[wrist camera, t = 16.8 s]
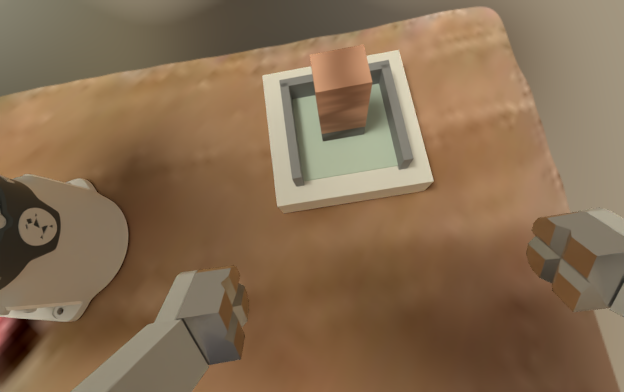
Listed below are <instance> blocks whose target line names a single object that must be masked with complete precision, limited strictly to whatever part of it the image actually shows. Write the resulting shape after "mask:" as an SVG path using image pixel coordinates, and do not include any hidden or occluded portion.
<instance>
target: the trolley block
mask: <svg viewBox="0 0 624 392" xmlns="http://www.w3.org/2000/svg"><path fill="white" fill-rule="evenodd" d="M310 62H311V69H312V75H313V82H314V89H315V96H316V103H317V109H318V116H319V122H320V128H321V134H322V140H323V141H329V140H335V139H341V138H346V137H352V136H358V135H364V132H365V126H366V119H367V113H368V107H369V101H370V94H371V88H372V78H371V73H370V69H369V65H368V60H367V56H366V52H365V47H364V45H359V46H354V47H348V48H343V49H338V50H333V51H327V52H322V53H317V54H312V55H310Z"/></svg>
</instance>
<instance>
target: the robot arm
mask: <svg viewBox="0 0 624 392" xmlns="http://www.w3.org/2000/svg"><path fill="white" fill-rule="evenodd" d="M532 232H533V233H534V235H535V237H534V238H533V239H532V240H531V241H530V242H529V243H528V246H527V251H526V255H527V259H528V263H529V265H530V267H531V268H532V270H533V271H534V272H535V273H536V274H537V276H538V277H539V278H541V279H544V280H546V281H548V282H550V283H552V291H553V292H554V293H555V294H556V295H557V296H558V297H559V298H560V299H561V300H562V301H563V302H564V303H565V304H566V305H567V306H568V307H569V308H570V309H571V310H572V311H573V312H578V311H587V310H596V309H605V308H610V310H611V311H613V312H615V313H617V314H619V315H621V316H622V317H624V219H623V218H622V217H620V216H618V215H616V214H615V213H613V212H611V211H610V210H608V209H603V208H593V209H587V210H582V211H578V212H572V213H565V214H559V215H553V216H547V217H541V218H538V219H537V220H536V221H535V222H534V224H533V227H532ZM127 247H128V226H127V222H126V219H125V217H124V215H123V213H122V211H121V210H120V208H119V207H118V206H117V205H116V204H115V203H114V202H113V201H111V200H110V199H108V198H106V197H104V196H102V195H100V194H99V193H98V192H97V191H96V189H95V188H94V186H93V185H92V184H91V183H90V182H89V181H88V180H85V179H81V178H77V179H74V180H71V181H68V182H66V183H65V182H61V181H57V180H53V179H49V178H45V177H41V176H37V175H32V174H24V175H23V176H21V177H17V178H14V179H9V178H6V177H5V176H2V175H0V317H10V318H22V319H35V320H47V321H60V322H73V321H76V320H78V319H79V318H80V317H81V315H82V314H83V313H84V311H85V310H86V308H87V306H88V305H89V303H90V301H91V300H92V298H93V297H94V296H95V295H96V294H98V293H99V292H100V291H101V290H102V289H103V288H105V287H106V286H107V285H108V284H109V283H110V281H111V280H112V279H113V278H114V276H115V275H116V274H117V272H118V270H119V269H120V267H121V265H122V263H123V260H124V258H125V255H126V251H127ZM239 279H240V273H239V271H238V269H237V267H236V266H234V265H231V266H223V267H215V268H208V269H200V270H195V271H188V272H181V273H180V274H178V275H177V276H176V278H175V280H174V282H173V284H172V287H171V289H170V291H169V293H168V295H167V297H166V299H165V301H164V303H163V305H162V307H161V309H160V311H159V313H158V315H157V318H156V320H155V322H154V323H152V324H148V325H146V326H145V327H144V328H143V329H142V330H141V331H140V332H138V333H137V334H136V335H135V336H134V337H133V338H131V339H130V340H129V341H128V342H127V343H126V344H125V345H123V346H122V347H121V348H120V349H119V350H118V351H117V352H115V353H114V354H113V355H112V356H111V357H110V358H109V359H107V360H106V361H105V362H104V363H103V364H102V365H101V366H99V367H98V368H97V369H96V370H95V371H94V372H93V373H91V374H90V375H89V376H88V377H87V378H86V379H84V380H83V381H82V382H81V383H80V384H79V385H78V386H76V387H75V388H74V389H73V390H72V391H71V392H192V390H193V389H194V388H195V386H196V385H197V383H198V382H199V380H200V379H201V378H202V376H203V375H204V373H205V372H206V370H207V369H208V368H209V366H208V365H212V364H217V363H223V362H229V361H235V360H241V356H242V351H243V345H244V339H245V334H244V332H243V330H242V327H243V326H244V324H245V323H246V322H247V321H248V314H249V300H248V295H247V292H246V289H245V287H244V286H243V285H241V284H240V283H239ZM62 310H63V313H62Z"/></svg>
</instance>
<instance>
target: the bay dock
mask: <svg viewBox="0 0 624 392" xmlns="http://www.w3.org/2000/svg"><path fill="white" fill-rule="evenodd" d="M367 60H368V65H369V69H370V73H371V78H372V88H371V94H370V101H369V107H368V113H367V119H366V126H365V132H364V135H358V136H352V137H346V138H341V139H335V140H329V141H323V140H322V134H321V128H320V122H319V116H318V109H317V103H316V96H315V89H314V82H313V75H312V69H311V66H310V67H305V68H300V69H294V70H289V71H284V72H278V73H273V74H268V75H262V76H263V85H264V94H265V103H266V112H267V121H268V129H269V138H270V147H271V156H272V165H273V174H274V183H275V191H276V200H277V207H278V208H279V209H280V210H281V211H282V212H283V213H289V212H296V211H302V210H308V209H314V208H321V207H327V206H333V205H339V204H346V203H352V202H358V201H364V200H371V199H377V198H383V197H389V196H395V195H402V194H408V193H414V192H420V191H425V190H426V189H427V188H428V187H429V186H430V185H431V183H432V182H433V181H434V180H433V177H432V173H431V169H430V165H429V162H428V158H427V154H426V150H425V147H424V143H423V139H422V135H421V132H420V128H419V124H418V120H417V116H416V113H415V109H414V105H413V101H412V98H411V94H410V90H409V86H408V83H407V79H406V75H405V71H404V68H403V64H402V60H401V56H400V53H399V50H395V51H390V52H385V53H379V54H374V55H369V56H367Z"/></svg>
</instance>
